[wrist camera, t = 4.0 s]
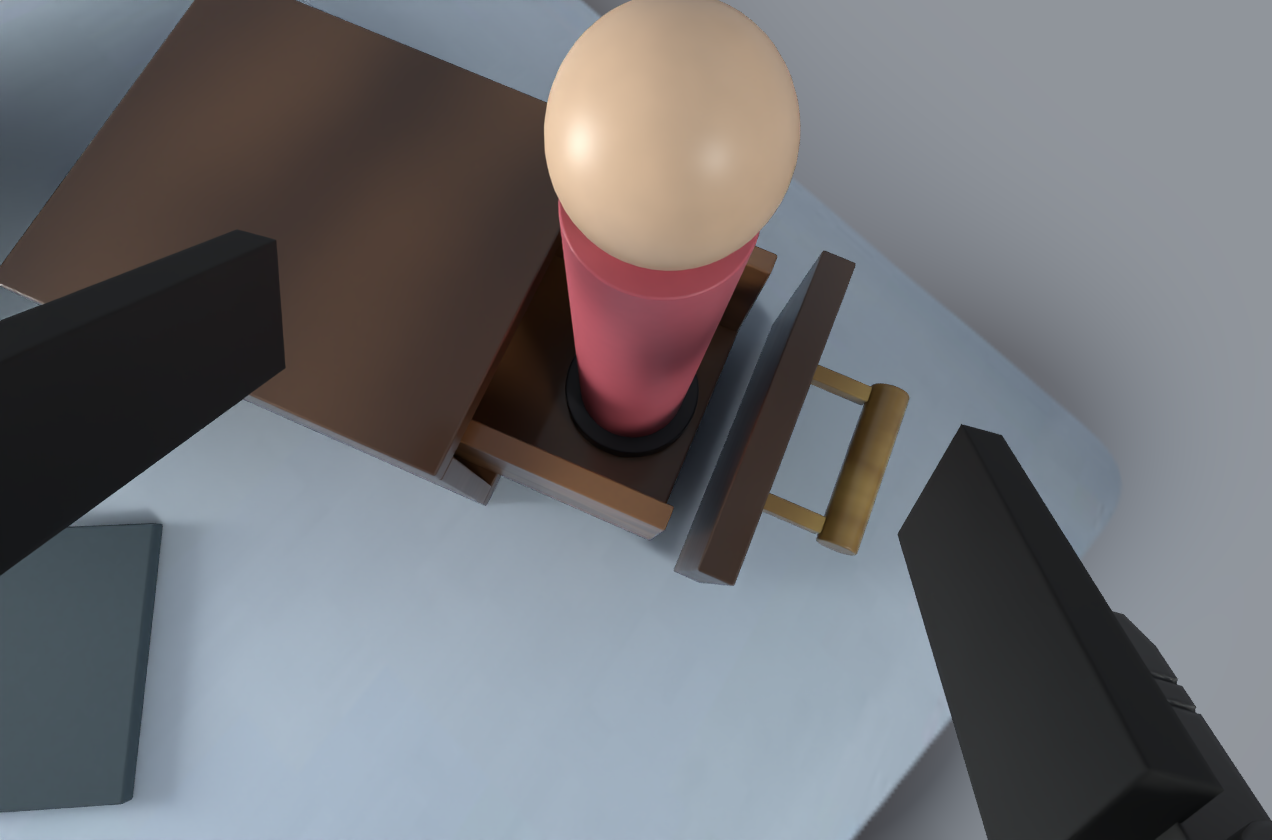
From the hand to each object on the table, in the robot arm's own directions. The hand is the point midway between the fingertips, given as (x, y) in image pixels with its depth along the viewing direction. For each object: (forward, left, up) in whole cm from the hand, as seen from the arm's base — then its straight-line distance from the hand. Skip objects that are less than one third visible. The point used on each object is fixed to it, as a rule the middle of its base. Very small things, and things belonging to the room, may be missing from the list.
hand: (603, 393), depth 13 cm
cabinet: (+8, +9, -15) cm, 19 cm away
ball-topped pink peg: (+4, -1, -13) cm, 14 cm away
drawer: (+3, -2, -14) cm, 15 cm away
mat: (-6, +23, -15) cm, 28 cm away
